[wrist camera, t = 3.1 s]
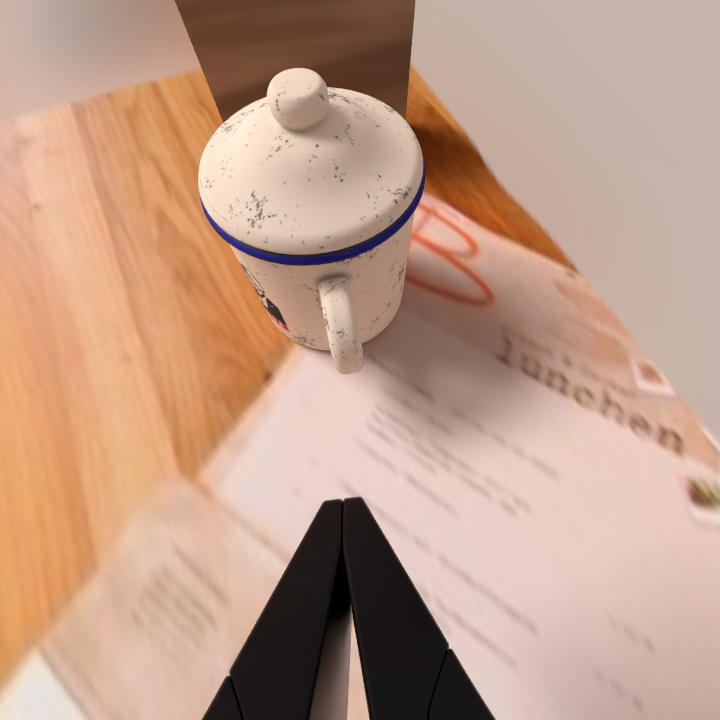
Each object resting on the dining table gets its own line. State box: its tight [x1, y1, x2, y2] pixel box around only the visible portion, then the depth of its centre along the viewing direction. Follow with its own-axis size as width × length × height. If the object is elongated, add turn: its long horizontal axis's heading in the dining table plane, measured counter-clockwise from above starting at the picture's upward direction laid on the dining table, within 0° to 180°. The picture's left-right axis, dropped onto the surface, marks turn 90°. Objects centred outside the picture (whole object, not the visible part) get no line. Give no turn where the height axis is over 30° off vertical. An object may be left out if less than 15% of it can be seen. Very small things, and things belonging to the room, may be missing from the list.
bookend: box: [175, 0, 415, 123], centre depth 22 cm, size 2×13×11 cm, turn 97°
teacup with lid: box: [198, 68, 425, 374], centre depth 16 cm, size 12×9×12 cm
